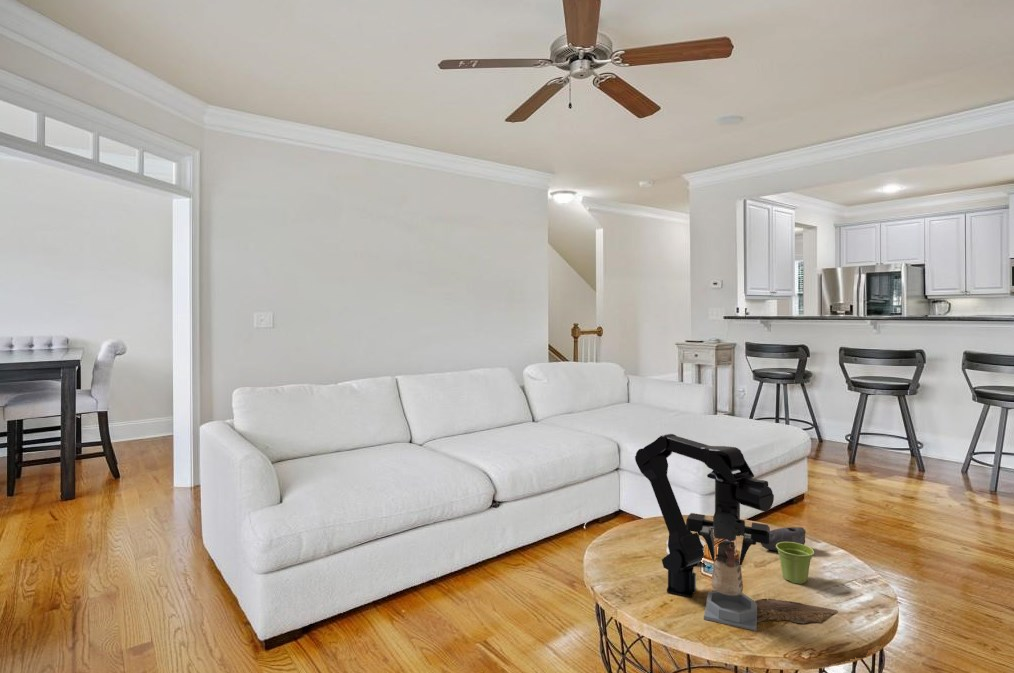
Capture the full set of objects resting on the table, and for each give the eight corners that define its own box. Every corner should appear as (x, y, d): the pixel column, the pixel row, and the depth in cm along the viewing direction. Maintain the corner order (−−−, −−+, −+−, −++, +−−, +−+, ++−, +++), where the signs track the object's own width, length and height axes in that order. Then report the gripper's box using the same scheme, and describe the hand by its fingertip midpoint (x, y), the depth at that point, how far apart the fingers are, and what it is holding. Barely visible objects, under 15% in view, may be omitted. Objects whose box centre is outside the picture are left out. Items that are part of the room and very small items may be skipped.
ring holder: (703, 619, 128) (703, 606, 128) (708, 596, 138) (708, 585, 138) (756, 631, 123) (756, 618, 123) (757, 606, 133) (757, 595, 133)
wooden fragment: (740, 622, 127) (740, 618, 127) (725, 599, 138) (725, 595, 138) (852, 628, 124) (852, 623, 124) (828, 603, 135) (828, 599, 135)
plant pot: (771, 569, 153) (771, 540, 153) (807, 572, 151) (807, 542, 151) (781, 585, 144) (781, 554, 144) (819, 588, 142) (819, 556, 142)
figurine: (738, 582, 133) (739, 535, 132) (746, 597, 126) (747, 547, 125) (708, 580, 134) (709, 533, 134) (715, 594, 127) (715, 545, 127)
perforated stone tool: (764, 553, 164) (764, 531, 164) (756, 546, 169) (756, 525, 169) (811, 553, 164) (812, 531, 164) (802, 546, 169) (802, 524, 169)
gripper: (682, 503, 127) (682, 567, 127) (769, 516, 118) (768, 585, 118) (689, 490, 136) (689, 549, 137) (770, 501, 128) (769, 564, 128)
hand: (727, 562), depth 130 cm, fingers closed on figurine, 6 cm apart
